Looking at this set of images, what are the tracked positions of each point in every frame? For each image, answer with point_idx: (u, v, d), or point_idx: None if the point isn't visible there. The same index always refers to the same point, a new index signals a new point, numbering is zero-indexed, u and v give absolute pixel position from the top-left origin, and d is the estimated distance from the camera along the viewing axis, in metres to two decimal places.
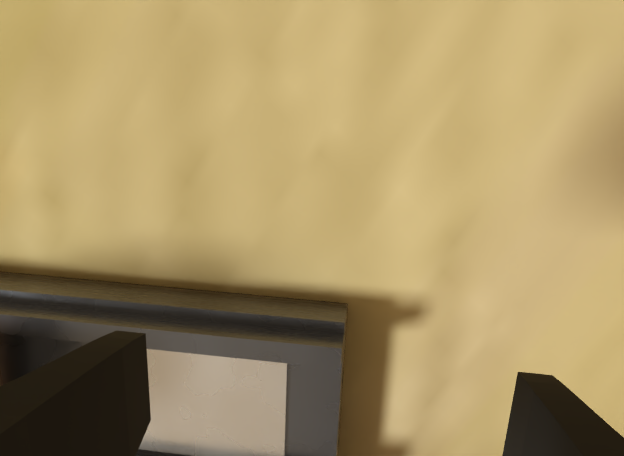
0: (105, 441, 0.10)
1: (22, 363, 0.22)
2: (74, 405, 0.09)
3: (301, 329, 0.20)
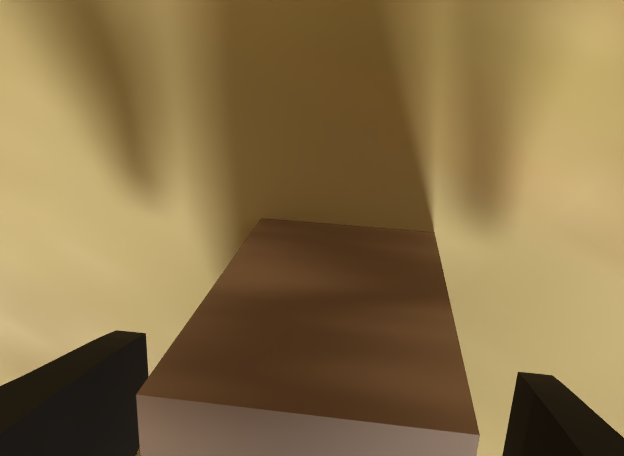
0: (105, 441, 0.10)
1: None
2: (74, 405, 0.09)
3: None
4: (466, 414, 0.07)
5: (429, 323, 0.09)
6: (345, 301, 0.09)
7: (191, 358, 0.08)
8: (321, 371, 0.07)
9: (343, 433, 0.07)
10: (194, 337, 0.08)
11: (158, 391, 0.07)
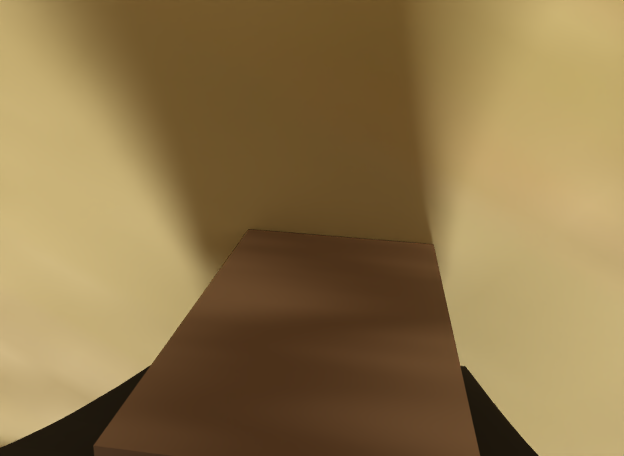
0: None
1: None
2: None
3: None
4: None
5: (428, 352, 0.08)
6: (336, 326, 0.09)
7: (160, 398, 0.07)
8: (308, 413, 0.07)
9: None
10: (165, 372, 0.07)
11: (119, 441, 0.06)
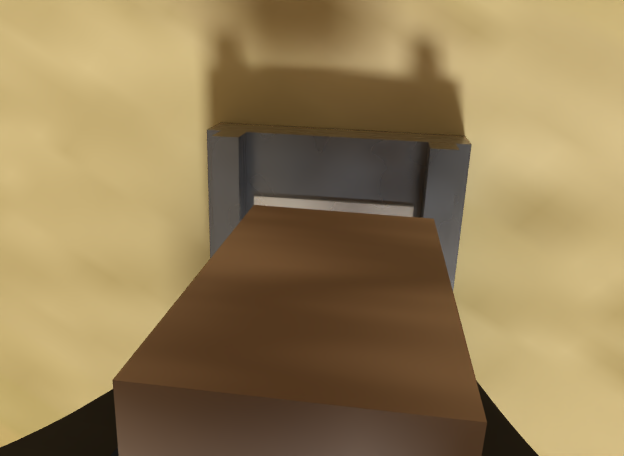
0: None
1: None
2: None
3: None
4: (472, 400, 0.06)
5: (430, 307, 0.08)
6: (341, 285, 0.09)
7: (174, 342, 0.07)
8: (315, 356, 0.07)
9: (338, 421, 0.06)
10: (178, 321, 0.08)
11: (137, 376, 0.06)
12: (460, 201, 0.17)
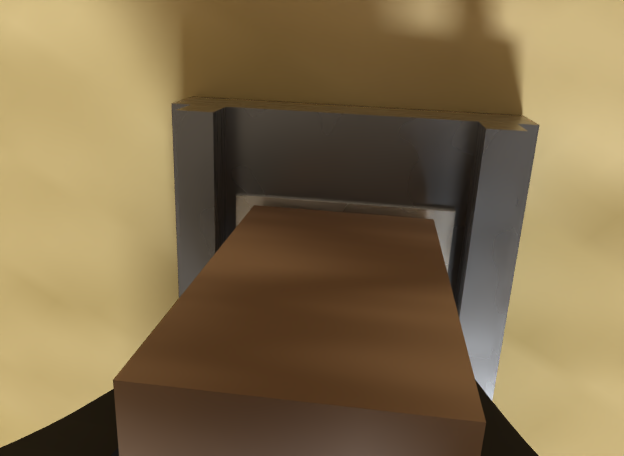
0: None
1: None
2: None
3: None
4: (471, 400, 0.06)
5: (430, 307, 0.08)
6: (341, 285, 0.09)
7: (174, 343, 0.07)
8: (315, 357, 0.07)
9: (337, 422, 0.06)
10: (179, 321, 0.08)
11: (137, 376, 0.06)
12: (520, 204, 0.13)
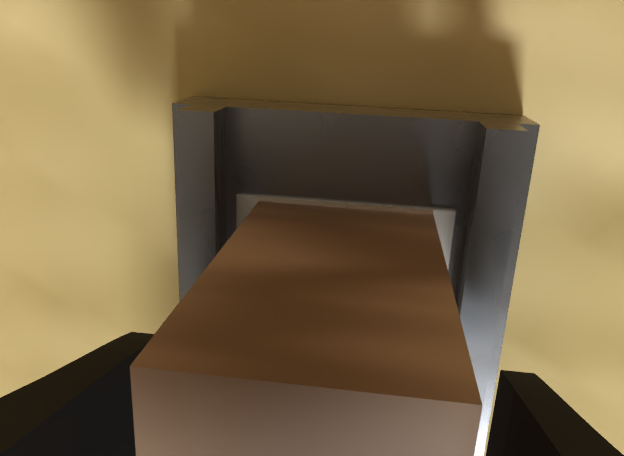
0: (122, 443, 0.10)
1: None
2: (93, 407, 0.09)
3: None
4: (468, 385, 0.07)
5: (429, 299, 0.09)
6: (344, 278, 0.09)
7: (186, 331, 0.07)
8: (320, 345, 0.07)
9: (342, 405, 0.06)
10: (189, 312, 0.08)
11: (152, 363, 0.07)
12: (520, 204, 0.13)
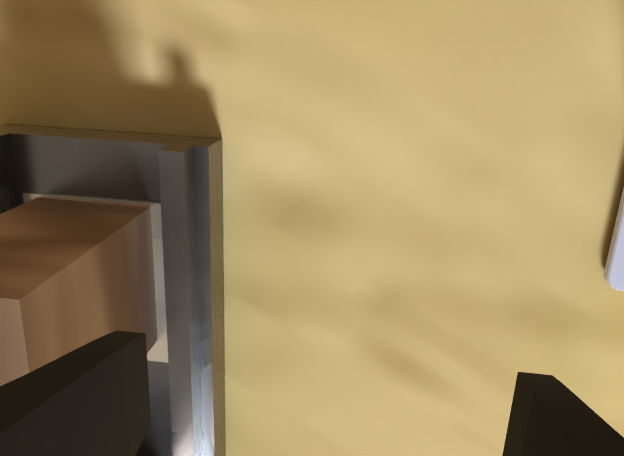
0: (105, 441, 0.10)
1: None
2: (74, 405, 0.09)
3: None
4: (25, 292, 0.13)
5: (67, 254, 0.15)
6: (30, 243, 0.15)
7: None
8: None
9: None
10: None
11: None
12: (206, 199, 0.19)
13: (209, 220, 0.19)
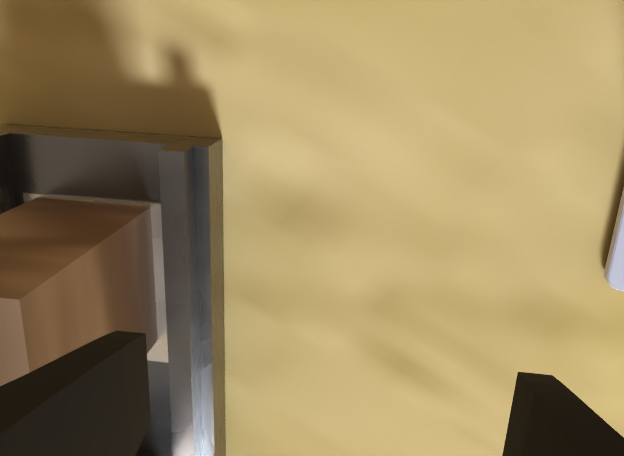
0: (105, 441, 0.10)
1: None
2: (74, 405, 0.09)
3: None
4: (25, 292, 0.13)
5: (67, 254, 0.15)
6: (30, 243, 0.15)
7: None
8: None
9: None
10: None
11: None
12: (206, 199, 0.19)
13: (209, 220, 0.19)
